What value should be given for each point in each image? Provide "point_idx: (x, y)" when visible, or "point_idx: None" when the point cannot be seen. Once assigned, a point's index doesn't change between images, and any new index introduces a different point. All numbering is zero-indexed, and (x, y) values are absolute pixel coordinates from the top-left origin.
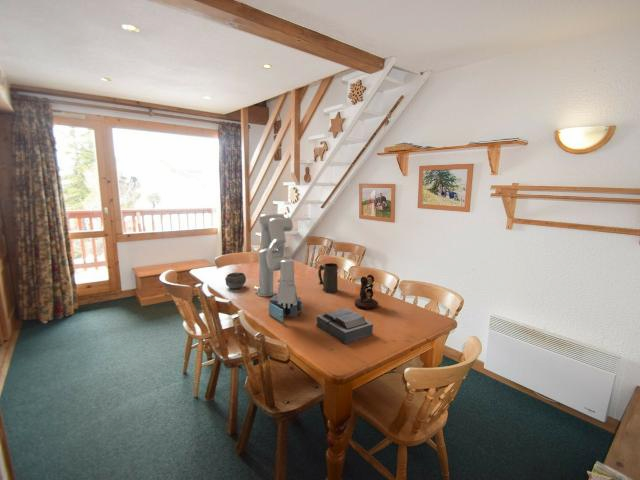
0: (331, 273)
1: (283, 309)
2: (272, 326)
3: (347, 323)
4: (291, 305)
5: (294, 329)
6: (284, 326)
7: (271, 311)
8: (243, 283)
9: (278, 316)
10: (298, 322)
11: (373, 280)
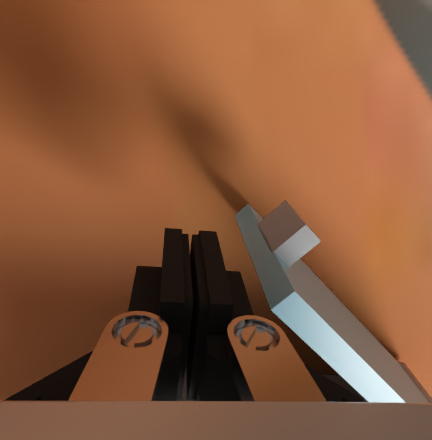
0: None
1: None
2: (357, 96)
3: None
4: (42, 395)
5: (42, 25)
6: (203, 112)
7: (411, 383)
8: None
9: (314, 281)
10: (49, 245)
11: None
